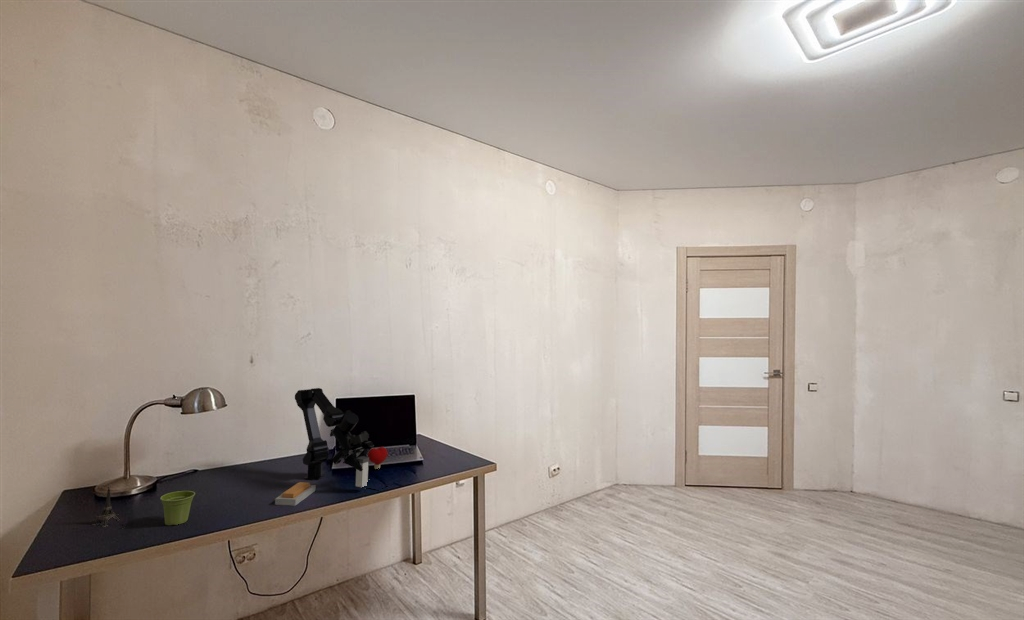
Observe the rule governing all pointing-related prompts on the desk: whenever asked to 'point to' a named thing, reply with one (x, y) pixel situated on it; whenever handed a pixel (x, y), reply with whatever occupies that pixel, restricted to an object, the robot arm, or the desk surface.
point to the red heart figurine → (377, 456)
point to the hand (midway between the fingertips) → (364, 469)
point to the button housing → (297, 499)
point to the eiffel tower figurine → (108, 513)
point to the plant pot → (177, 506)
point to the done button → (295, 490)
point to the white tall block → (362, 472)
